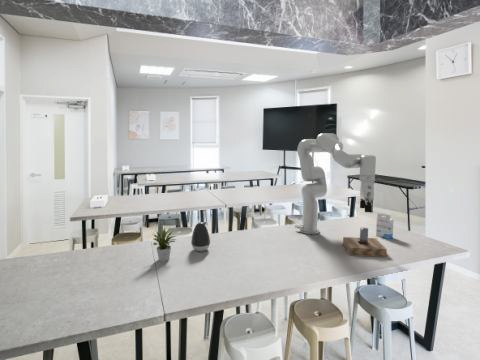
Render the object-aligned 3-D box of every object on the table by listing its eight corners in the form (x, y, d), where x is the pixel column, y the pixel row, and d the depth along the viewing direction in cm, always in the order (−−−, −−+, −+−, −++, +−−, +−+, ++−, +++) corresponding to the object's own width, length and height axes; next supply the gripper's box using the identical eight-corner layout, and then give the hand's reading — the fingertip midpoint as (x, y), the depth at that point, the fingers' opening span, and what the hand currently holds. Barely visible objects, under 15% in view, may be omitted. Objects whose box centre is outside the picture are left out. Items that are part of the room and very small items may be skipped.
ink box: (393, 237, 191) (394, 214, 189) (389, 239, 188) (390, 215, 186) (379, 234, 197) (380, 211, 196) (375, 235, 194) (376, 212, 192)
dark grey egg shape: (213, 248, 172) (213, 221, 170) (203, 254, 163) (203, 226, 161) (198, 245, 176) (197, 219, 175) (187, 251, 167) (187, 223, 165)
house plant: (162, 268, 145) (161, 234, 143) (142, 262, 152) (140, 229, 150) (183, 258, 157) (182, 227, 155) (163, 253, 164) (162, 223, 162)
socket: (349, 255, 162) (350, 247, 161) (343, 243, 179) (343, 237, 179) (386, 256, 159) (386, 249, 159) (375, 245, 177) (376, 238, 177)
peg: (360, 251, 168) (361, 229, 166) (358, 248, 172) (359, 227, 170) (368, 251, 167) (369, 229, 166) (366, 248, 171) (367, 227, 170)
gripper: (379, 180, 155) (377, 214, 158) (369, 176, 172) (368, 206, 175) (364, 180, 156) (362, 213, 159) (355, 176, 173) (354, 206, 176)
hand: (365, 210), depth 167 cm, fingers open, 9 cm apart
